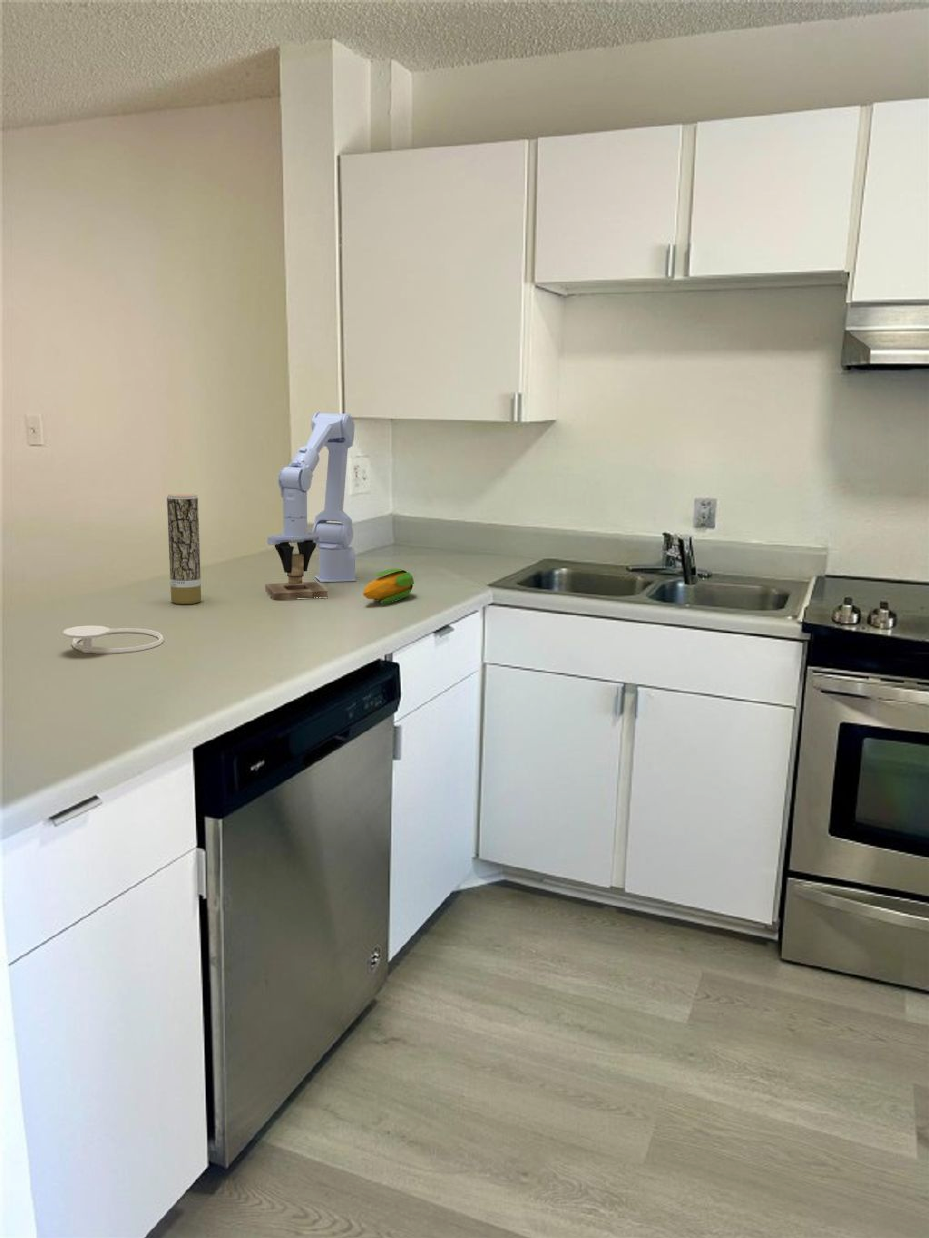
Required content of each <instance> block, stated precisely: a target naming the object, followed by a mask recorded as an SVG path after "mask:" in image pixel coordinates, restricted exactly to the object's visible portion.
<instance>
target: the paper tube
mask: <svg viewBox="0 0 929 1238" xmlns="http://www.w3.org/2000/svg"><path fill="white" fill-rule="evenodd" d="M166 509H167V511H166V513H167V534H168V537H167V538H168V555H169V556H168V560H169V579H170V581H169V583H170V601H171V602H172V603H173V604H175V605H194V604H198V603H200V602H201V601H202V588H201V587H202V583H201V580H202V579H201V554H200V553H201V552H200V551H201V549H200V547H201V546H200V523H199V520H200V519H199V516H200V515H199V497H198V494H194V493H193V494H191V493H172V494H167V495H166Z"/></svg>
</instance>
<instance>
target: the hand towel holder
mask: <svg viewBox="0 0 929 1238" xmlns="http://www.w3.org/2000/svg"><path fill="white" fill-rule="evenodd" d="M62 633H63V634H64V635H65V636H67V637H68V638H71V639H72V642H71V643H70V644H71V645H72V647H73V648H74V649H76V651H80V652H82V653H84V654H98V655H99V654H101V655H103V654H104V655H105V654H106V655H113V654H115V655H116V654H118V655H119V654H129V653H130V654H131V653H136V652H143V651H147V650H151V649H154V648H157V647H158V646H161V645H162V644H163V643H164V642H165V637H164V636H163V635H162V634H161V633H160V632H158V631H156V630H151V629H145V628H132V627H131V628H129V627H125V628H122V627H119V628H109V627H106V626H104V625H82V626H80V625H79V626H78V625H77V626H73V627H69V628H65V629H64V630H63V631H62ZM111 634H140V635H141V634H142V635H149V636H153V637H155V638H158V639H157V640H156V641H154V642H153V641H152V642H151V643H147V644H143V645H137V646H130V647H119V648H118V647H115V648H105V647H103V648H102V647H93V643H92V639H97V638H99V637H104V636H106V635H111ZM80 641H82V645H81V644H80V643H79V642H80Z"/></svg>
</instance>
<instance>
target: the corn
mask: <svg viewBox="0 0 929 1238" xmlns="http://www.w3.org/2000/svg"><path fill="white" fill-rule="evenodd" d="M376 576H377V577H378V578H376V579H374V580H372V581H371V582H369V583H368V584H367V585H366V586H365V588H364V590H363V592H362V596H363V597H365V599H367V600H373V601H375V600H382V601H380V603H381V604H384V603H387V604H389V603H388V602H392V601H395V600H398V599H400V600H402V599H401V598H403V599H406V598H408V597H409V595H410V594H411V592H412V589H413V585H414V584H415V581H414V577H413V575H412V574H411V573H410V572H408V571H406V570H404V569H401V568H391V569H387V570H384V571H381V572H378V573H377V574H375V577H376ZM405 597H406V598H405ZM398 601H399V600H398ZM395 602H396V601H395ZM392 603H393V602H392Z"/></svg>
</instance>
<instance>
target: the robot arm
mask: <svg viewBox="0 0 929 1238" xmlns="http://www.w3.org/2000/svg"><path fill="white" fill-rule="evenodd" d="M310 426H311V433H310V436H309V438H308V440H307V442H306V445H305V446H300V447H299V448H298V450H297V451H296V453H295V455H294V456H293V458H292V460H291V462H290V463H289V464H288V466H284V468H281V470H279V472H278V473H279V474H278V478H277V483H278V486H279V489H280V490H279V491H280V496H281V498H282V504H283V505H282V513H283V514H282V515H283V518H282V519H283V523H282V524H283V526H282V527H283V529H282V530H283V533H282V534H281V533H280V534H275V535H269V536H267V545H270V546H274V548H275V550H276V552H277V553H278V556H279V558H280V560H281V564H282V567H283V572H284V573H285V574H287V573H291V571H292V554H294V549H295V546H293V545H291V544H292V543H293V544H294V543H295V544H296V546H297V550H298V554H303V555H304V572H308V567H309V564H310V560H311V557H312V555H313V553H314V551H315V549H316V548H318V567H319V568H318V574H317V575H315V576H314V578H315V577H316V580H318V581H319V582H320V583H342V582H356V581H357V580H356V553H355V550H354V547H352V546H350V545H351V544H352V542H353V539H354V530H353V519H352V518H351V516H349V515H348V513H345V511H344V502H345V501H344V500H345V499H344V498H345V488H346V475H347V464H348V463H347V462H348V451H349V449H350V448H352V447H353V446H354V441H355V440H354V439H355V422H354V419H353V417H352V415H351V414H350V413H348V412H346V413H331V412H330V413H329V412H315V413H314V414H313V415H312V418H311V425H310ZM324 447H325V448H326V449H327V450H328V458H327V468H326V469H327V472H326V482H325V493H324V495H325V497H324V507H323V509H322V511H320V512H319V513H318V514H316V515H315V516H314V517H315V518H314V522H313V526H312V530H311V532H308V491H309V490H310V489H311V487H312V482H313V481H312V480H313V477H314V475H313V474H314V471H315V469H316V467H317V465H318V464H319V462H320V455H319V453H320V452H321V451H322V449H323V448H324Z"/></svg>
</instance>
